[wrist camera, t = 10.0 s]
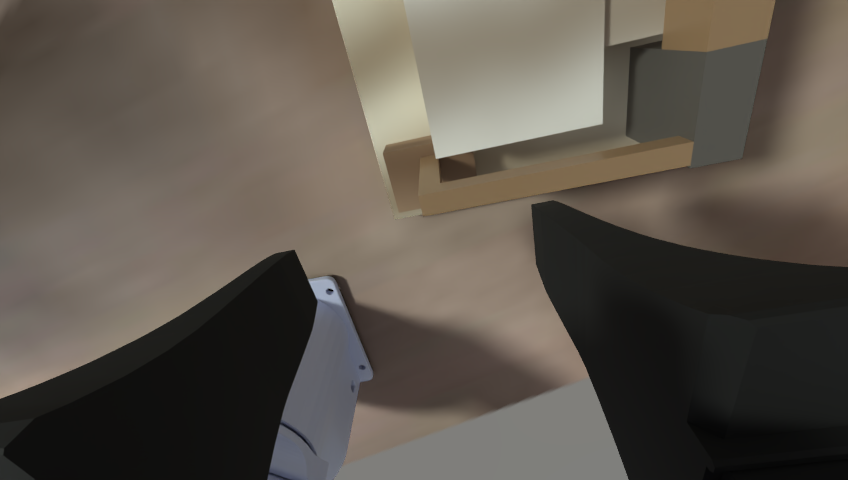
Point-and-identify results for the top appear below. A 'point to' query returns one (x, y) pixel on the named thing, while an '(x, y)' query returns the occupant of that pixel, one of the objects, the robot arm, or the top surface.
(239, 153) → the top surface
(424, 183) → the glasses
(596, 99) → the stand
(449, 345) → the top surface
